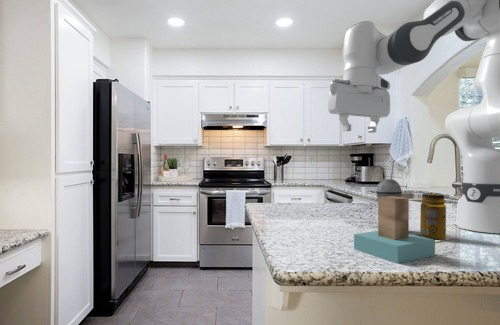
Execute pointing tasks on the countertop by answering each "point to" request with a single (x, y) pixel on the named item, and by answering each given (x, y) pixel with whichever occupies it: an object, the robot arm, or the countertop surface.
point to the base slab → (394, 247)
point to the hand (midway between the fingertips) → (359, 131)
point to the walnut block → (393, 217)
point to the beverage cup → (388, 187)
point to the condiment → (433, 217)
